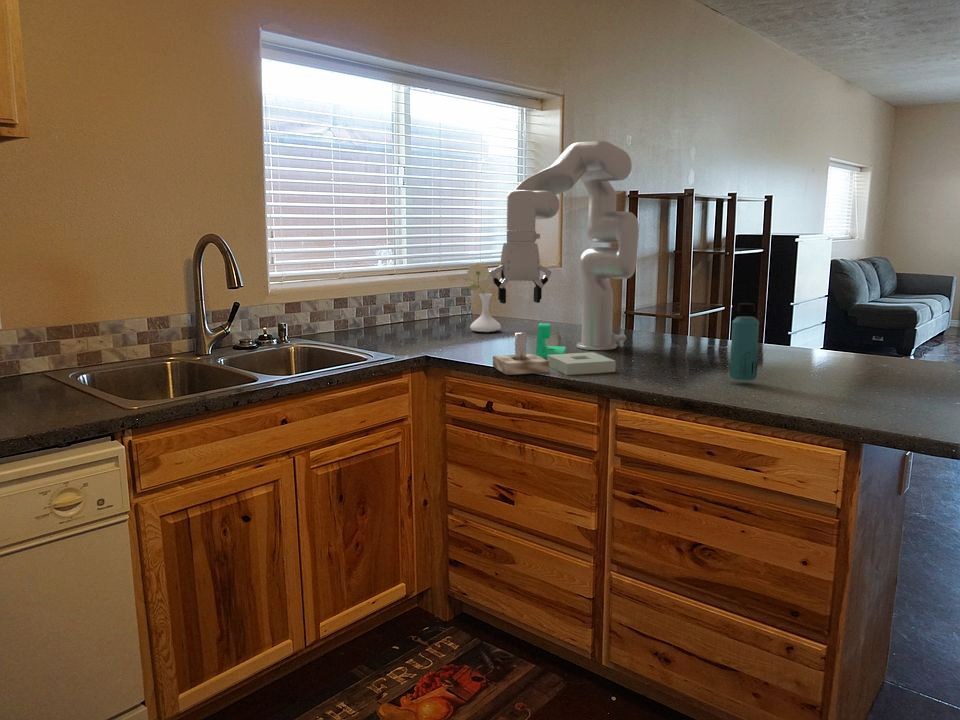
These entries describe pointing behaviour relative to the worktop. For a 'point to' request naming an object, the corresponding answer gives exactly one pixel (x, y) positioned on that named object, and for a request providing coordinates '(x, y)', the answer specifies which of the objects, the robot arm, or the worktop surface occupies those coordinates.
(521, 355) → the steel pin
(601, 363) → the dock block
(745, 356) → the beverage bottle
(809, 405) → the worktop surface
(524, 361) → the block
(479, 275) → the flower in vase
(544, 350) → the camera mount
